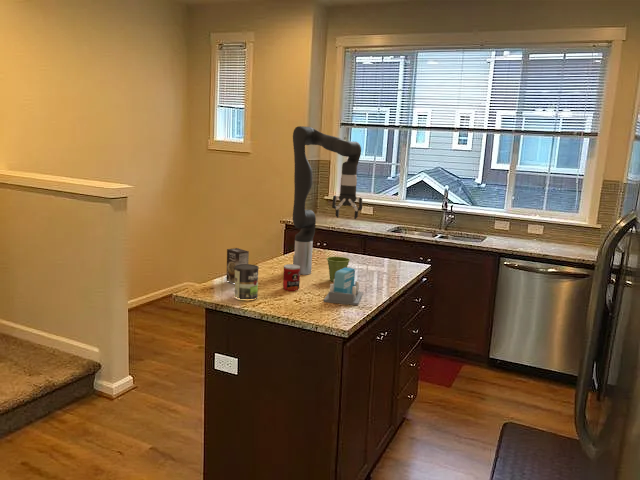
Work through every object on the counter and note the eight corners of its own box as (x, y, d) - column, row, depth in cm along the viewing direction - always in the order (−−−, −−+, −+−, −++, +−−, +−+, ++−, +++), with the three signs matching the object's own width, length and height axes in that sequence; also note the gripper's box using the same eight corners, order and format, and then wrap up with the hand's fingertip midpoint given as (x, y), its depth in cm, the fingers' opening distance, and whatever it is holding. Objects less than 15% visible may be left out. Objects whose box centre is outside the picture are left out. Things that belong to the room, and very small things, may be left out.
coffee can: (262, 297, 244) (263, 266, 241) (247, 302, 235) (248, 270, 233) (244, 293, 249) (245, 262, 247) (229, 298, 241) (229, 266, 238)
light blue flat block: (342, 299, 243) (344, 273, 241) (333, 298, 245) (334, 271, 243) (353, 293, 253) (355, 268, 251) (344, 291, 255) (346, 266, 253)
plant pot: (353, 281, 279) (355, 259, 277) (338, 285, 270) (339, 262, 268) (336, 276, 287) (337, 255, 285) (320, 280, 278) (321, 258, 276)
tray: (323, 301, 242) (324, 286, 241) (331, 291, 259) (331, 276, 258) (357, 305, 239) (358, 289, 238) (362, 294, 257) (363, 279, 255)
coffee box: (225, 281, 266) (226, 249, 264) (236, 279, 271) (237, 247, 268) (237, 286, 260) (238, 252, 257) (248, 283, 265) (249, 250, 262)
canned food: (287, 291, 255) (288, 268, 253) (280, 287, 262) (281, 264, 260) (302, 290, 258) (303, 267, 256) (294, 286, 265) (295, 263, 263)
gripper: (332, 183, 260) (330, 218, 263) (362, 185, 257) (360, 220, 260) (335, 182, 267) (333, 216, 270) (364, 184, 264) (362, 218, 267)
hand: (346, 218), depth 265 cm, fingers open, 8 cm apart
